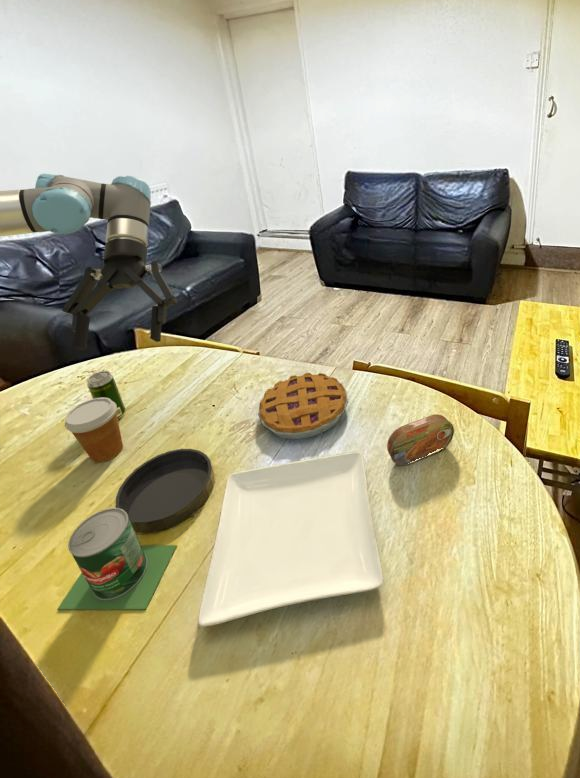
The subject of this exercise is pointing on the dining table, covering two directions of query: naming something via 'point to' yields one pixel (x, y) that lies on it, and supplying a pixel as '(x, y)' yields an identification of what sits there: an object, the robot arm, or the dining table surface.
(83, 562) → the canned tomato
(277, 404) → the pie
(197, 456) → the pan
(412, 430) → the tin
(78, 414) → the disposable coffee cup
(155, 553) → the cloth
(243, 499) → the square plate
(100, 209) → the robot arm
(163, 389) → the dining table surface
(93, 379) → the beer can
